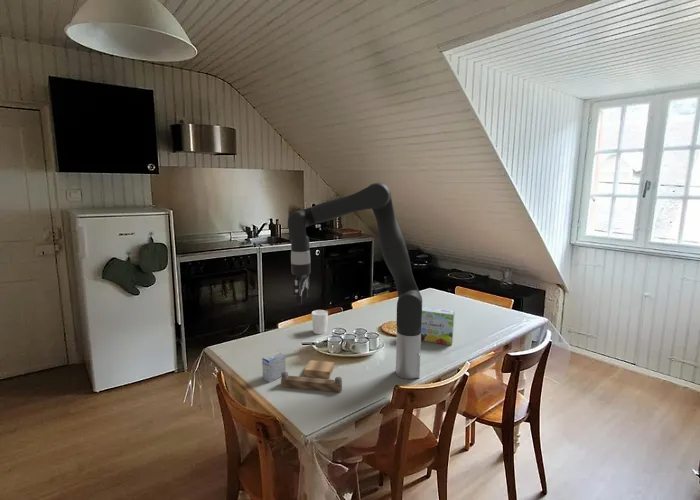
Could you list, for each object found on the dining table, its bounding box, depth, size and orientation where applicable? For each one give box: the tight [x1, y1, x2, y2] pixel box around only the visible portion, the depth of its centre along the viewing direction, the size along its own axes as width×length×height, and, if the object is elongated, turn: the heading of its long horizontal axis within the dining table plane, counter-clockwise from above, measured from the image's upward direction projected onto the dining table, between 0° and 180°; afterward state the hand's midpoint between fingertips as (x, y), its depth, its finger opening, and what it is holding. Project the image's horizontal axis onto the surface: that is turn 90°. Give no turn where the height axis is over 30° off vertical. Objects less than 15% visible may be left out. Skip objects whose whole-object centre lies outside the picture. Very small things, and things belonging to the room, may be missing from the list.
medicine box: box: [261, 351, 287, 383], centre depth 154 cm, size 8×4×9 cm, turn 141°
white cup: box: [311, 309, 329, 335], centre depth 198 cm, size 8×8×10 cm
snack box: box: [421, 306, 455, 346], centre depth 189 cm, size 21×6×15 cm, turn 70°
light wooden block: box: [303, 359, 335, 379], centre depth 158 cm, size 10×8×3 cm
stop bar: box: [280, 371, 343, 393], centre depth 147 cm, size 22×3×4 cm, turn 80°
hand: (302, 301), depth 161 cm, fingers open, 8 cm apart
